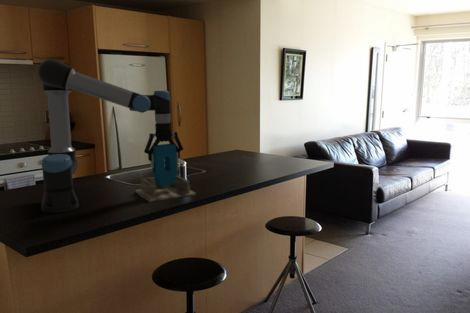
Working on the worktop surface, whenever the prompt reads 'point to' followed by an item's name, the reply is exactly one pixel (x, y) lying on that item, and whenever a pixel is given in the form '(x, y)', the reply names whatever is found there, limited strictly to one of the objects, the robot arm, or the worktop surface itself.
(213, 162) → the worktop surface
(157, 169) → the block
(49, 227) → the worktop surface
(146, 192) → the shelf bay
